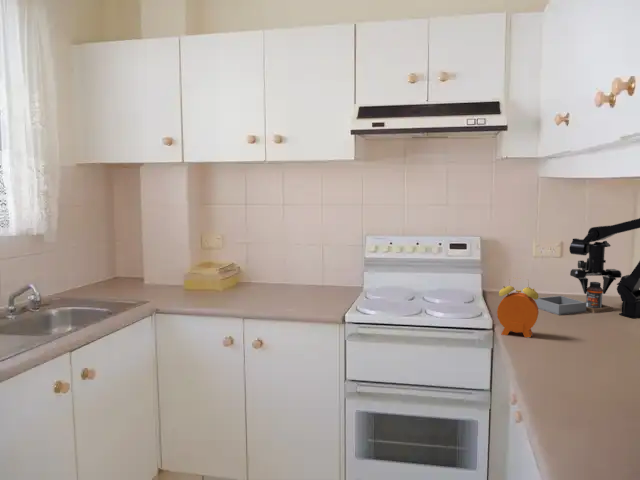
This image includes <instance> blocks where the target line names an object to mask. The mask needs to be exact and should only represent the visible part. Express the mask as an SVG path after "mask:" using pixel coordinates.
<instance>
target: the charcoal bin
mask: <svg viewBox="0 0 640 480" xmlns="http://www.w3.org/2000/svg"><path fill="white" fill-rule="evenodd" d="M534 301H535V302H536V304H537V306H538V310H541V311H544V312H548V313H551V314H554V315H557V316H565V315H572V314H573V315H574V314H581V313H587V311H586V305H587V303H586V301H582V300H579V299H574V298H571V297H567V296H566V295H565V296H563V295H554V296H553V295H552V296H543V297H538V299H537V300H536V299H534Z"/></svg>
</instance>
